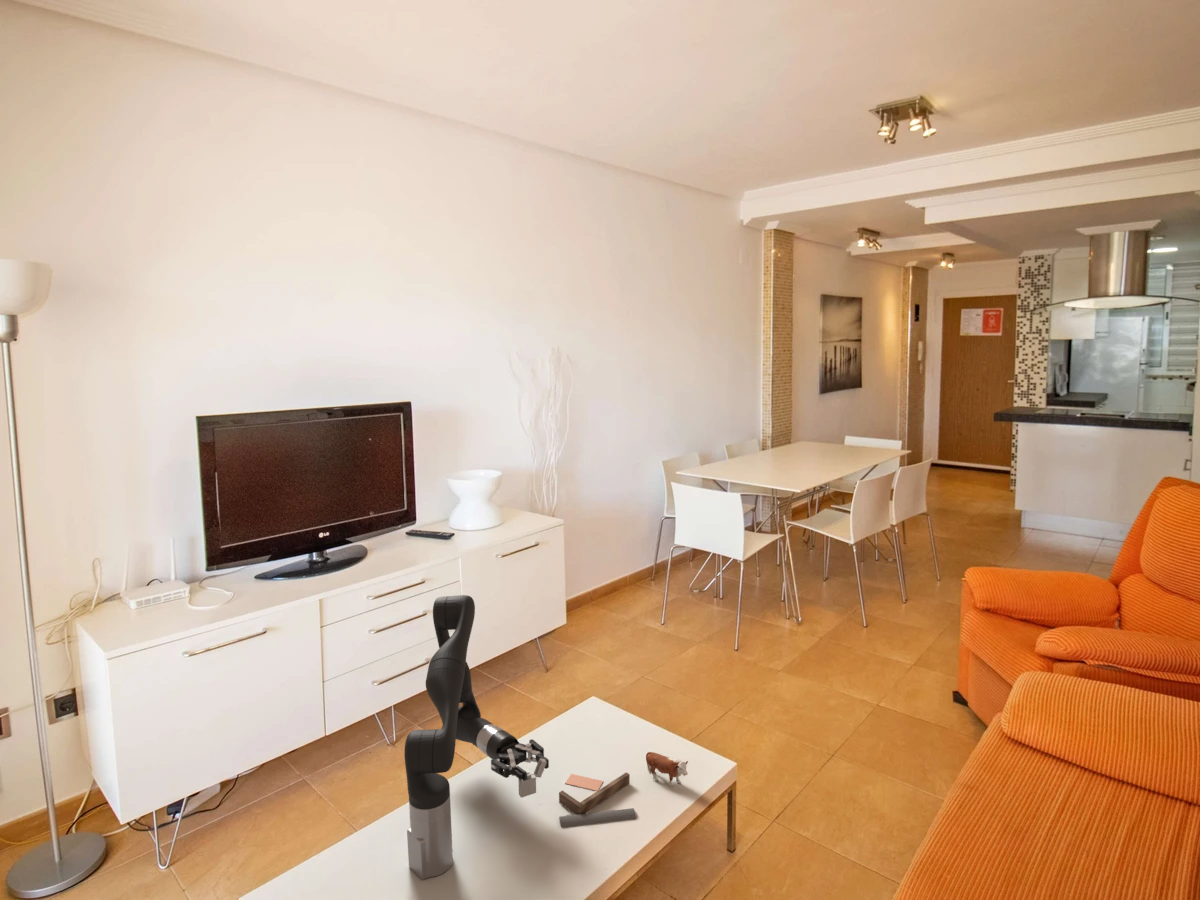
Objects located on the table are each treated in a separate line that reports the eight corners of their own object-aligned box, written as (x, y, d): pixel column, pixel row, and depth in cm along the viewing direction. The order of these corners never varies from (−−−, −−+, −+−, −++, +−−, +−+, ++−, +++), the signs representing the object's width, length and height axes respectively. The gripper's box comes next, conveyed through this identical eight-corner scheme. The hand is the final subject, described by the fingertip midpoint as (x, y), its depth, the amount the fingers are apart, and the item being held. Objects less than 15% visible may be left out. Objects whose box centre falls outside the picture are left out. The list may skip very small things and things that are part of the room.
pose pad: (597, 791, 187) (597, 790, 187) (565, 783, 191) (565, 783, 190) (603, 781, 191) (603, 781, 191) (571, 774, 195) (571, 773, 195)
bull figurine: (684, 795, 186) (685, 768, 184) (643, 776, 194) (643, 750, 192) (692, 787, 189) (693, 760, 188) (651, 768, 197) (651, 742, 196)
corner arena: (579, 817, 177) (579, 806, 177) (559, 802, 183) (559, 792, 182) (629, 784, 190) (629, 774, 190) (608, 771, 196) (608, 761, 195)
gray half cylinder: (636, 821, 176) (636, 815, 176) (560, 830, 173) (560, 824, 173) (632, 810, 181) (632, 804, 180) (558, 819, 177) (558, 812, 177)
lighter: (521, 797, 172) (520, 768, 170) (518, 793, 173) (517, 764, 172) (547, 789, 175) (546, 760, 173) (544, 785, 176) (544, 756, 175)
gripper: (474, 741, 178) (514, 769, 167) (518, 720, 189) (558, 745, 177) (474, 768, 180) (514, 797, 168) (518, 745, 190) (558, 772, 178)
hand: (537, 770), depth 172 cm, fingers closed on lighter, 6 cm apart
